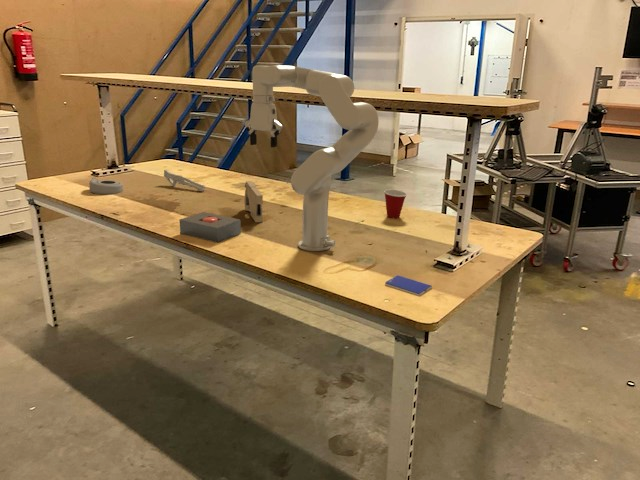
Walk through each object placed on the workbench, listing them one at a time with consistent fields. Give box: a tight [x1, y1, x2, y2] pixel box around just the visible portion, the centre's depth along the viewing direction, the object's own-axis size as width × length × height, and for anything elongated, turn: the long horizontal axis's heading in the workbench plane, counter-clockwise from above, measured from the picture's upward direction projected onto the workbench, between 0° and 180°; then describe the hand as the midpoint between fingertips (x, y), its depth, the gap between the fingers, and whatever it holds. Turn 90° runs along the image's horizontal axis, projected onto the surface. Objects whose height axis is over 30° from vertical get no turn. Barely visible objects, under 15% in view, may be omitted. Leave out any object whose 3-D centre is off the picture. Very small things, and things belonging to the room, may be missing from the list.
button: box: [202, 217, 218, 223], centre depth 209 cm, size 6×6×3 cm
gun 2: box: [243, 180, 264, 223], centre depth 235 cm, size 24×3×15 cm, turn 21°
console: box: [179, 211, 242, 243], centre depth 210 cm, size 20×14×6 cm
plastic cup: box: [383, 189, 408, 219], centre depth 240 cm, size 11×11×12 cm
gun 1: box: [163, 169, 206, 193], centre depth 285 cm, size 2×30×8 cm, turn 59°
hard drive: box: [384, 274, 432, 297], centre depth 165 cm, size 2×8×12 cm
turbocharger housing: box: [89, 177, 124, 195], centre depth 274 cm, size 17×6×15 cm
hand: (263, 145), depth 199 cm, fingers open, 9 cm apart
